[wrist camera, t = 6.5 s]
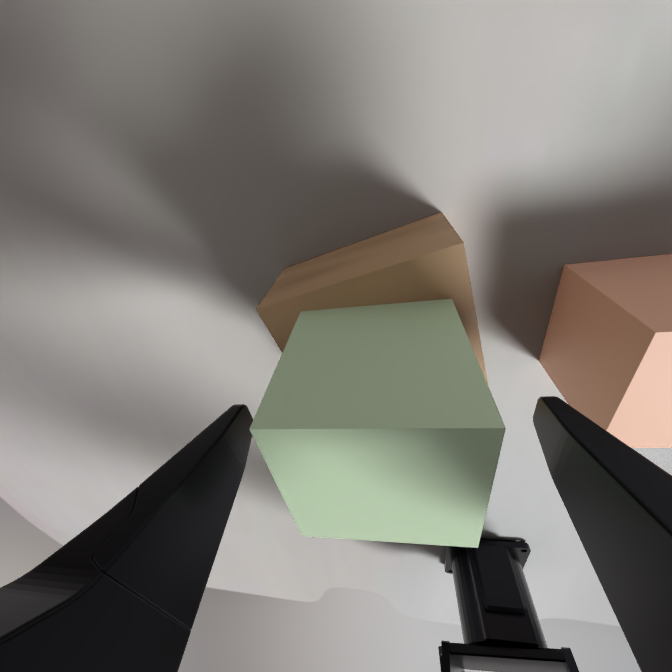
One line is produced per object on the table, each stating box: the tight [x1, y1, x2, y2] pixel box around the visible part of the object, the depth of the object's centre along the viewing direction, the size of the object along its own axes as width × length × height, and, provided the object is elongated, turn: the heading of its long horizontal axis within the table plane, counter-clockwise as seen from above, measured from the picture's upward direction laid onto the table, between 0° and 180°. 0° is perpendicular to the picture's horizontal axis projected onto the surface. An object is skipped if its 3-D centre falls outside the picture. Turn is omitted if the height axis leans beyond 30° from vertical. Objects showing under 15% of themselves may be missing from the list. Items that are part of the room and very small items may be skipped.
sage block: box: [249, 299, 505, 548], centre depth 9 cm, size 5×5×5 cm
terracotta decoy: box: [539, 254, 672, 448], centre depth 11 cm, size 5×5×5 cm
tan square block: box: [256, 212, 488, 384], centre depth 13 cm, size 7×7×4 cm
